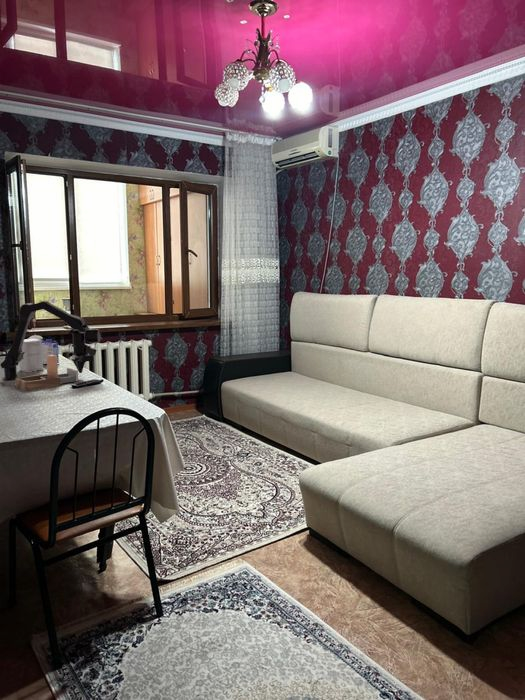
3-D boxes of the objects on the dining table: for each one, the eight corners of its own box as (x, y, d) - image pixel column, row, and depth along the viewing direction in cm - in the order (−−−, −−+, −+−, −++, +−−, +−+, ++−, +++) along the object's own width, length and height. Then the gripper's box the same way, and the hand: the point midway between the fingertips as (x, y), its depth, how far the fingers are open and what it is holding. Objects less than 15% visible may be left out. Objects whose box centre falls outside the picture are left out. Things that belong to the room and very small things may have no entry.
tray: (39, 382, 268) (39, 372, 267) (69, 377, 278) (68, 368, 277) (48, 385, 261) (47, 375, 260) (78, 380, 271) (77, 370, 270)
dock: (15, 386, 261) (14, 378, 260) (49, 381, 272) (49, 373, 272) (25, 390, 252) (25, 382, 252) (60, 385, 264) (60, 377, 263)
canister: (48, 379, 269) (47, 354, 267) (58, 379, 270) (57, 354, 268) (46, 382, 264) (45, 356, 262) (57, 381, 265) (56, 356, 263)
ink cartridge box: (59, 363, 317) (58, 339, 314) (54, 365, 311) (52, 340, 309) (44, 363, 319) (42, 338, 316) (38, 364, 313) (37, 339, 311)
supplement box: (36, 367, 305) (34, 338, 302) (44, 370, 299) (42, 339, 296) (19, 370, 298) (17, 339, 295) (26, 372, 292) (24, 341, 289)
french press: (24, 361, 323) (21, 319, 319) (38, 358, 333) (36, 317, 329) (37, 362, 319) (34, 320, 315) (51, 359, 330) (49, 318, 326)
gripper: (102, 343, 274) (104, 373, 277) (85, 338, 287) (86, 368, 290) (81, 345, 266) (83, 376, 269) (65, 341, 280) (66, 370, 282)
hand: (80, 372), depth 278 cm, fingers closed
